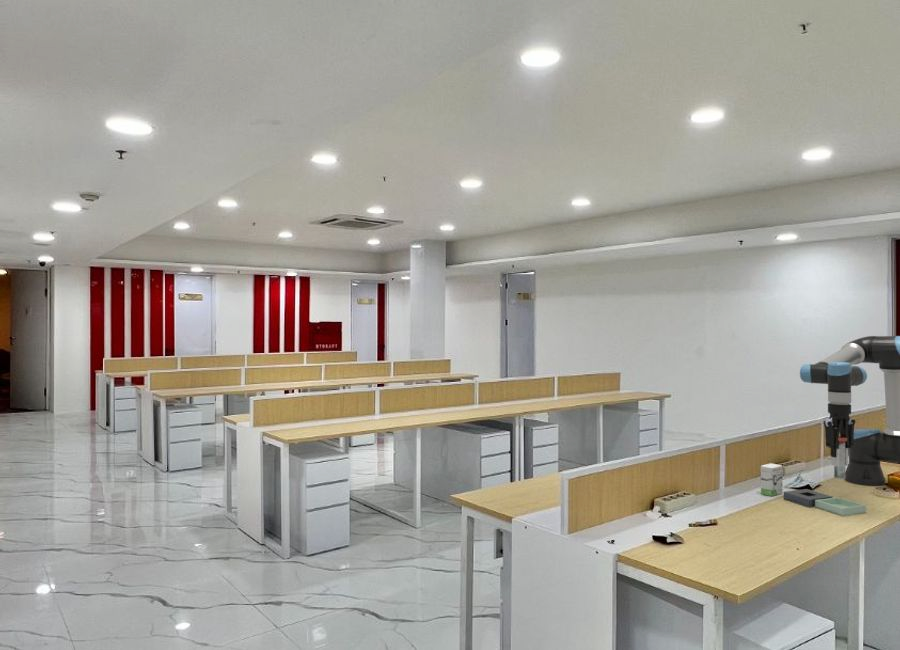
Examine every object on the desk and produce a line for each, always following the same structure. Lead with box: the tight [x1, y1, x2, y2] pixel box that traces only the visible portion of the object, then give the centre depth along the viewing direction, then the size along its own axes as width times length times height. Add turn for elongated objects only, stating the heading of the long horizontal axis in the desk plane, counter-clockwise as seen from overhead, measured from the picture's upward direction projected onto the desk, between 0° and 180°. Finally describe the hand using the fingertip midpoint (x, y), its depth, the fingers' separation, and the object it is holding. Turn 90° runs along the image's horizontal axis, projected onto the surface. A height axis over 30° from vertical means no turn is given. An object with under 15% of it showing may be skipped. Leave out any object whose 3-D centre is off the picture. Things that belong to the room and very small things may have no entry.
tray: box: [814, 497, 867, 517], centre depth 238 cm, size 12×12×3 cm
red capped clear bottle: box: [833, 435, 847, 480], centre depth 237 cm, size 5×5×15 cm
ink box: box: [760, 462, 784, 497], centre depth 261 cm, size 9×5×12 cm, turn 124°
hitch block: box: [783, 488, 834, 508], centre depth 249 cm, size 12×12×3 cm
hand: (839, 465), depth 237 cm, fingers closed on red capped clear bottle, 3 cm apart
